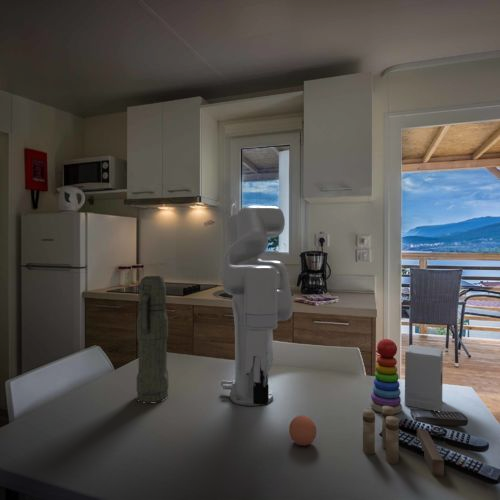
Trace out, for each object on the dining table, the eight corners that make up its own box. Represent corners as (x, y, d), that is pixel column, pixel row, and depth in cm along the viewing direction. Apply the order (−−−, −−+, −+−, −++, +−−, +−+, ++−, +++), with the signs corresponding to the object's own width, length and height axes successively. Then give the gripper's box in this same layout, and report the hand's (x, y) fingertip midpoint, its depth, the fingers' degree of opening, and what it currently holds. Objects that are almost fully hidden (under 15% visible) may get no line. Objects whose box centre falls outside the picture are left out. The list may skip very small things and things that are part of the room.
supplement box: (440, 413, 95) (441, 356, 95) (404, 405, 100) (404, 351, 100) (443, 401, 103) (443, 348, 102) (409, 394, 107) (409, 343, 107)
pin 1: (382, 449, 78) (382, 410, 78) (381, 443, 80) (381, 405, 80) (395, 450, 77) (395, 411, 77) (392, 444, 80) (393, 406, 80)
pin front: (363, 453, 76) (363, 413, 76) (361, 447, 79) (362, 408, 79) (375, 455, 76) (375, 414, 76) (374, 448, 78) (374, 409, 78)
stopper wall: (432, 474, 69) (432, 459, 69) (416, 441, 81) (416, 428, 81) (443, 476, 69) (443, 460, 69) (426, 442, 81) (426, 429, 81)
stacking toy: (405, 417, 93) (405, 344, 93) (372, 414, 94) (372, 342, 94) (398, 404, 101) (399, 336, 100) (368, 401, 102) (369, 335, 102)
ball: (287, 449, 78) (287, 421, 78) (290, 435, 84) (290, 409, 84) (316, 452, 77) (316, 424, 77) (316, 438, 82) (316, 412, 82)
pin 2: (386, 463, 73) (386, 421, 73) (384, 456, 75) (384, 415, 75) (399, 464, 73) (400, 422, 72) (397, 457, 75) (397, 416, 75)
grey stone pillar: (130, 406, 99) (129, 278, 99) (143, 389, 111) (143, 275, 110) (162, 406, 99) (162, 278, 98) (172, 389, 110) (172, 275, 110)
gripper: (251, 315, 90) (251, 390, 89) (236, 326, 75) (236, 415, 74) (281, 316, 88) (281, 392, 88) (272, 327, 73) (272, 418, 73)
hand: (260, 402), depth 81 cm, fingers closed
